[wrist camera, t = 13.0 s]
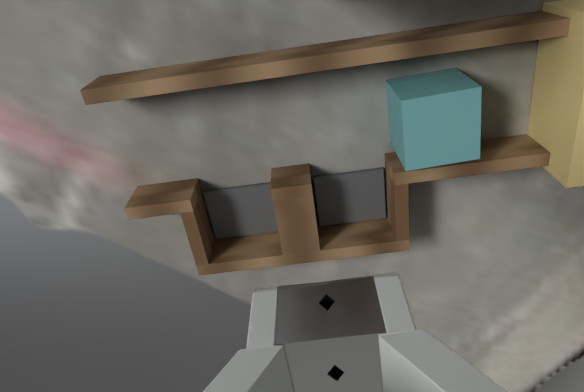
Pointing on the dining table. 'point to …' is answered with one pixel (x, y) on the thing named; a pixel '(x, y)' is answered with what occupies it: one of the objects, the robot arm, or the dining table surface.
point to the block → (434, 118)
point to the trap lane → (297, 179)
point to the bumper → (561, 96)
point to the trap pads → (329, 195)
